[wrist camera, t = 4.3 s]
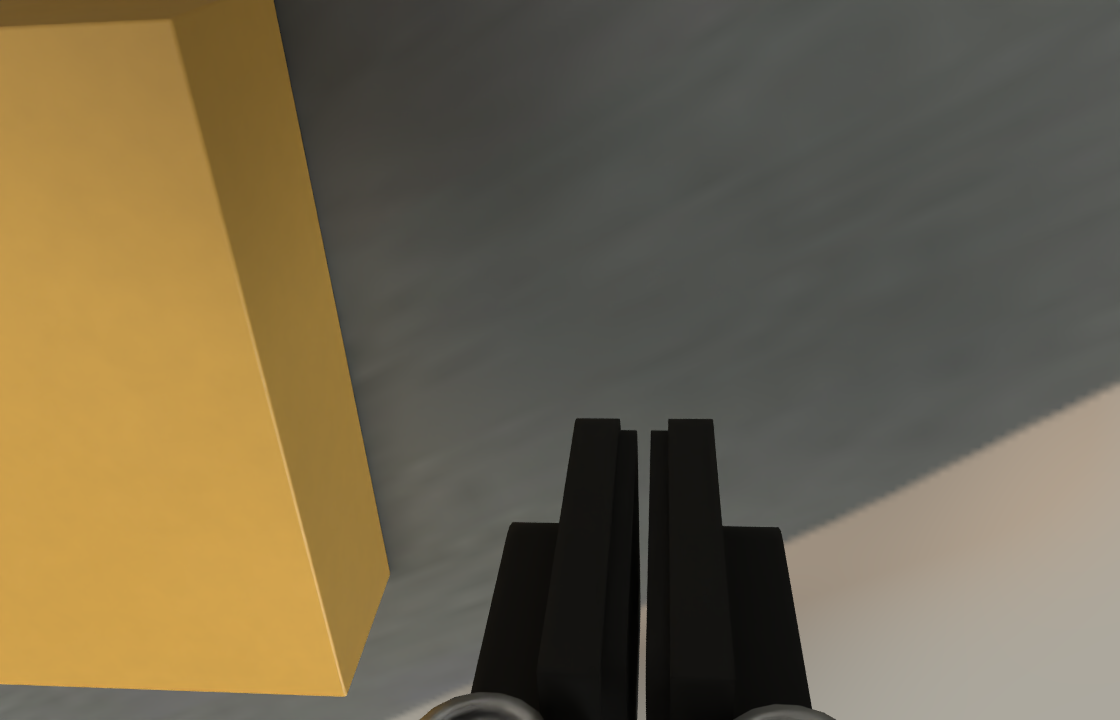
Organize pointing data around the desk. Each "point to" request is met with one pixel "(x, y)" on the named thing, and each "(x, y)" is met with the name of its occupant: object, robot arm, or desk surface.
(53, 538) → the orange flat block
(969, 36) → the desk surface
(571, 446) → the robot arm
